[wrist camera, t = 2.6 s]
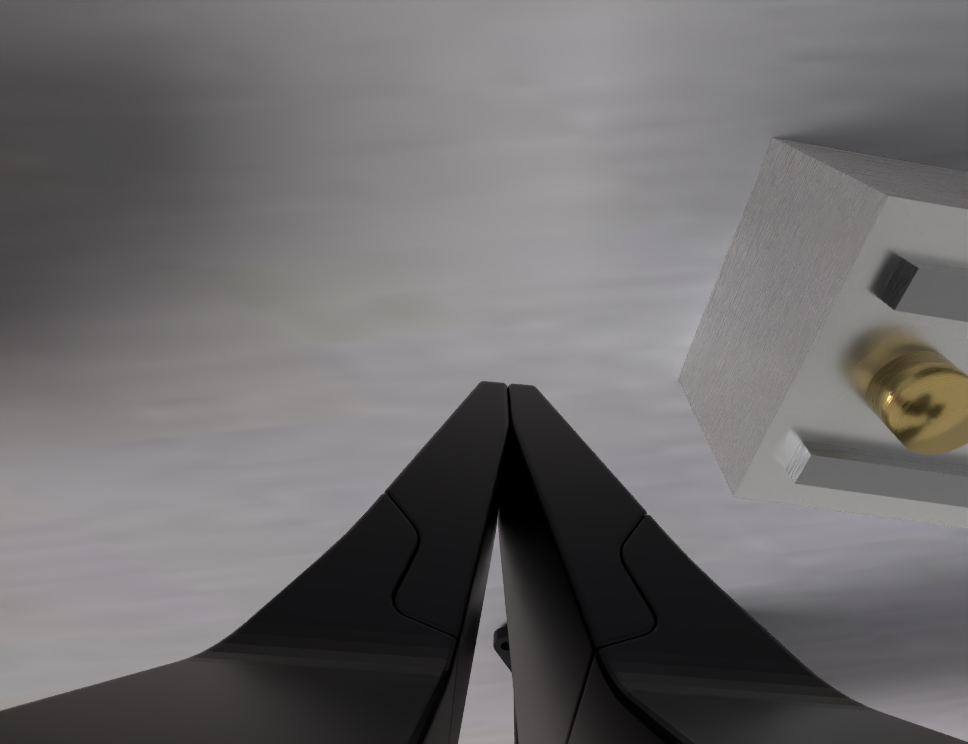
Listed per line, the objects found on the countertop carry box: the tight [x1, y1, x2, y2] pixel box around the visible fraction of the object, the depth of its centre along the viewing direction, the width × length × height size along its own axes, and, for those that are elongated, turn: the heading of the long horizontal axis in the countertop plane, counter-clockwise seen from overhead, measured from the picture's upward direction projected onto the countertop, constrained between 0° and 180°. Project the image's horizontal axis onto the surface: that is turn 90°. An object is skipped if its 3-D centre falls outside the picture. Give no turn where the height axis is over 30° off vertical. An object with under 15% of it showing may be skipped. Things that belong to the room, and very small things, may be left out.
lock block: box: [678, 137, 968, 529], centre depth 12 cm, size 7×6×6 cm
